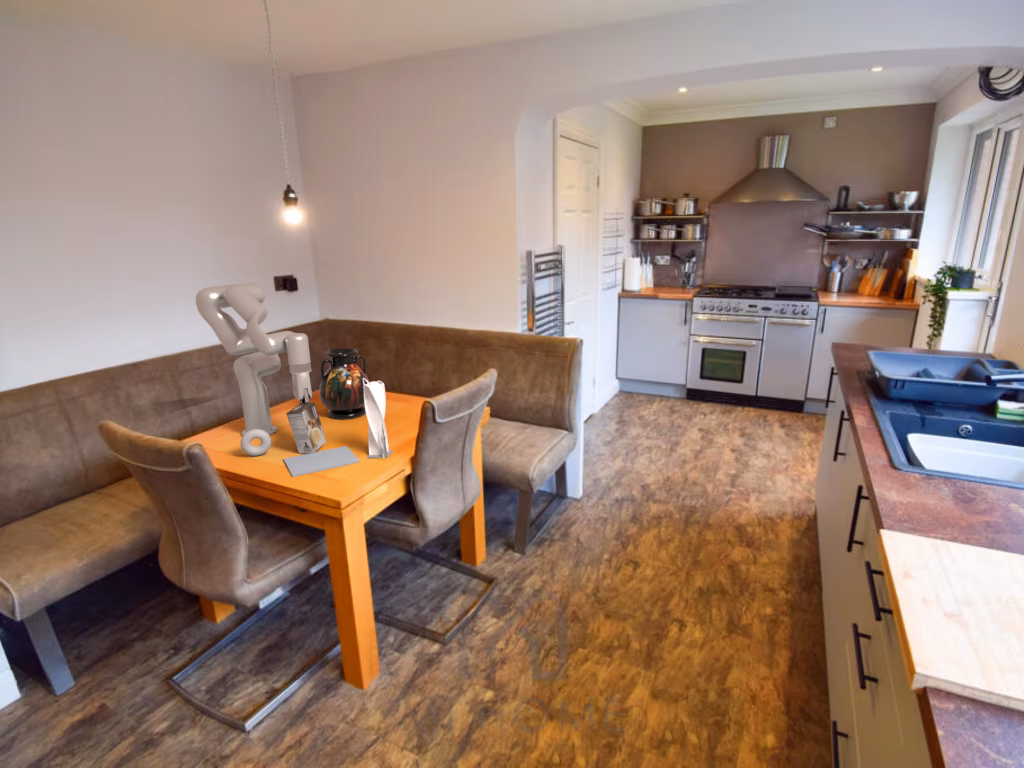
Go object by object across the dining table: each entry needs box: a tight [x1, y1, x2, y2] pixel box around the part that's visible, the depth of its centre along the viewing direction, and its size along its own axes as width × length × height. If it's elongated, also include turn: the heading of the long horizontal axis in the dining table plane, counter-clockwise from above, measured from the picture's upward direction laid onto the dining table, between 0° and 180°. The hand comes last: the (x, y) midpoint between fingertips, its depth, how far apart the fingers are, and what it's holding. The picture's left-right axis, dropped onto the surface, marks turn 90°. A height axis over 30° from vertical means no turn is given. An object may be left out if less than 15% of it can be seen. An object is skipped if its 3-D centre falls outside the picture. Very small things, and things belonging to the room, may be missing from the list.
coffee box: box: [286, 402, 327, 455], centre depth 200 cm, size 9×6×16 cm
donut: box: [240, 429, 272, 457], centre depth 197 cm, size 10×4×10 cm, turn 115°
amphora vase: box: [318, 347, 371, 420], centre depth 238 cm, size 22×22×28 cm
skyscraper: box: [362, 378, 394, 459], centre depth 195 cm, size 8×8×28 cm
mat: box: [283, 445, 360, 478], centre depth 192 cm, size 16×22×1 cm
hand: (306, 415), depth 206 cm, fingers closed
